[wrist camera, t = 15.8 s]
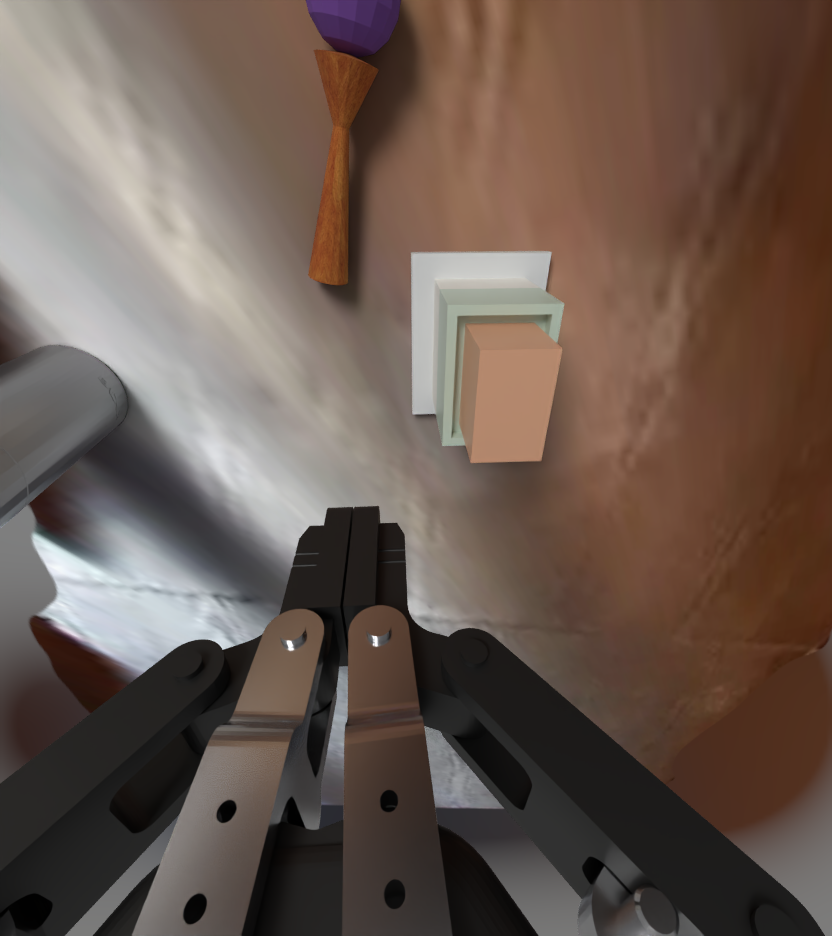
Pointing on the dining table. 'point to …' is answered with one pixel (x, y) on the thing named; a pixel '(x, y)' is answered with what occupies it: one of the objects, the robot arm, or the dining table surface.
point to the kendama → (344, 113)
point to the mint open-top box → (469, 318)
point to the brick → (507, 390)
